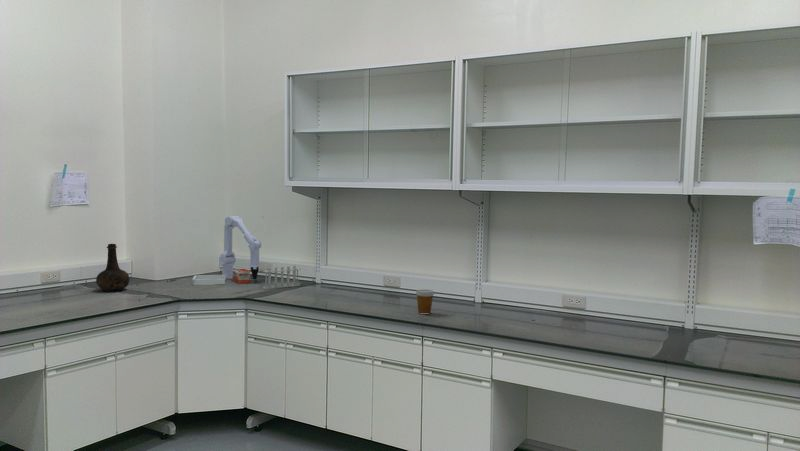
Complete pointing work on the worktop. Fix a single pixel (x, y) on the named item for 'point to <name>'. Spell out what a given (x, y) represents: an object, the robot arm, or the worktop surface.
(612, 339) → the worktop surface
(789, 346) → the worktop surface
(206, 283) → the bin
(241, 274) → the medicine box
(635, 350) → the worktop surface
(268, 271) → the test tube rack
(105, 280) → the glass bottle
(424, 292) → the disposable coffee cup
